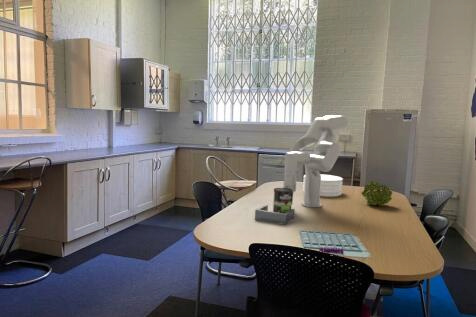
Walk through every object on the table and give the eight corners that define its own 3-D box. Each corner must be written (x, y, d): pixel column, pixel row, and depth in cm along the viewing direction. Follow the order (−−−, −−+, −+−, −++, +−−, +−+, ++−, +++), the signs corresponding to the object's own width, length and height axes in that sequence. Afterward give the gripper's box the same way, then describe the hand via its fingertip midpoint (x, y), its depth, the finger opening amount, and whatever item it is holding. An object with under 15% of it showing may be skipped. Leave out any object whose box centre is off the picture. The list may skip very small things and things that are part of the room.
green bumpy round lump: (382, 194, 243) (397, 182, 230) (382, 214, 234) (398, 202, 221) (358, 185, 242) (372, 172, 229) (357, 204, 232) (372, 192, 219)
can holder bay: (265, 213, 202) (265, 204, 201) (294, 218, 194) (294, 209, 194) (254, 219, 190) (255, 209, 189) (285, 224, 182) (286, 214, 182)
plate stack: (295, 189, 274) (296, 174, 273) (325, 187, 286) (326, 173, 285) (318, 197, 249) (319, 181, 248) (349, 195, 261) (351, 179, 260)
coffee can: (294, 216, 198) (295, 191, 196) (276, 217, 195) (277, 191, 194) (286, 211, 208) (288, 187, 206) (269, 212, 205) (271, 187, 204)
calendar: (357, 236, 169) (357, 231, 169) (374, 259, 141) (375, 254, 141) (299, 233, 172) (299, 228, 171) (305, 255, 144) (305, 249, 143)
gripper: (289, 171, 218) (287, 201, 220) (280, 174, 205) (278, 206, 207) (301, 172, 215) (299, 203, 217) (292, 175, 201) (291, 208, 203)
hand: (289, 204), depth 212 cm, fingers closed
